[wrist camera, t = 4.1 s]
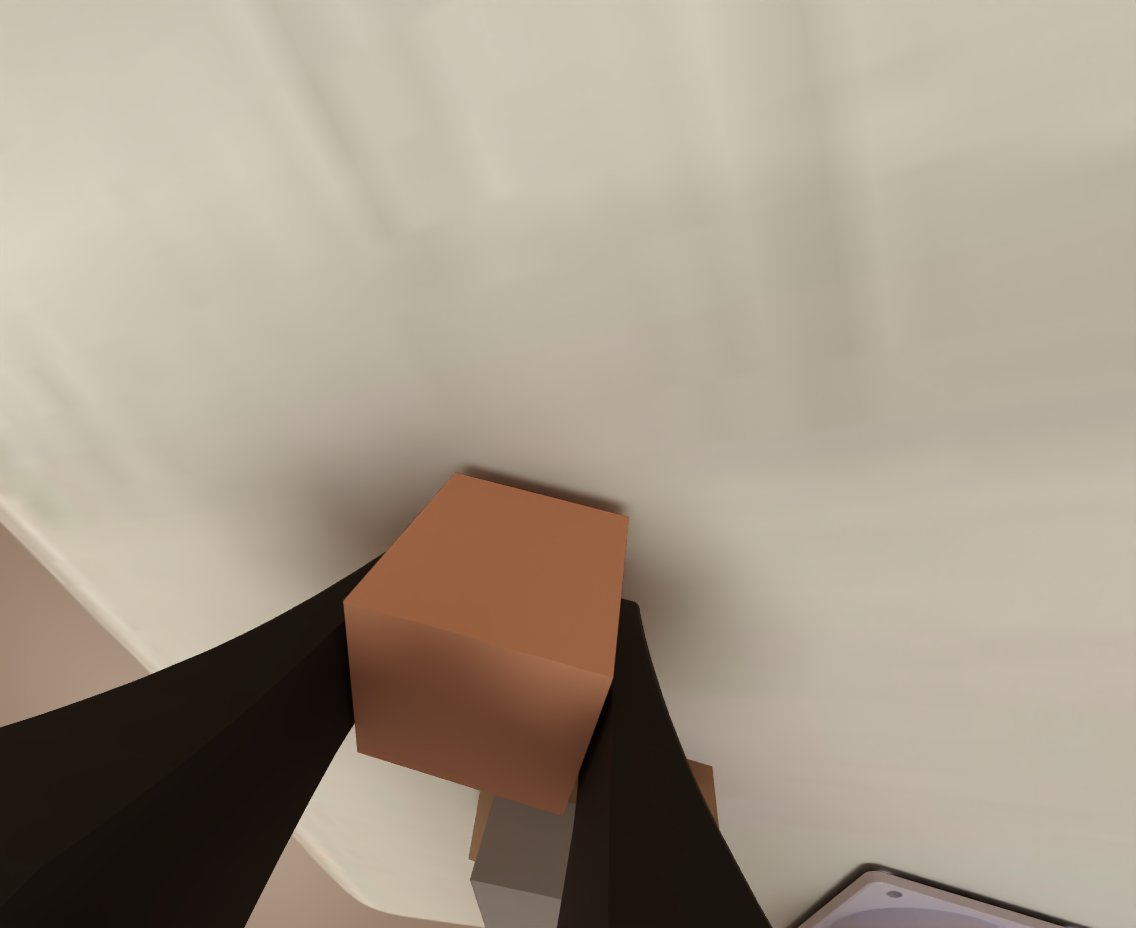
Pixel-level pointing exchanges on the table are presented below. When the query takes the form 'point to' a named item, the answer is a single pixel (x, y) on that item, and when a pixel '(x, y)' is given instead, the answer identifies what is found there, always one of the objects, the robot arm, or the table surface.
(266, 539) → the table surface
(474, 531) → the terracotta cube
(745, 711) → the table surface
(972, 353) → the table surface
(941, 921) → the robot arm
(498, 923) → the grey slab
